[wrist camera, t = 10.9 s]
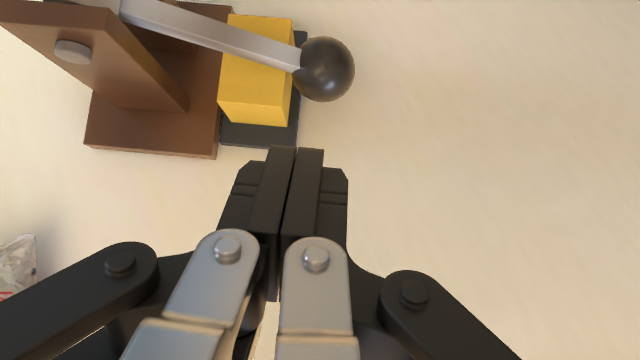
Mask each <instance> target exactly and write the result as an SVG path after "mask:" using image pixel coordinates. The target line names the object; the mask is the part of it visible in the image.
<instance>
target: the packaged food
mask: <svg viewBox="0 0 640 360" xmlns="http://www.w3.org/2000/svg"><path fill="white" fill-rule="evenodd" d="M5 249H6V250H5ZM35 253H36V251H35V235H34V234H30V233H27V234H23V235H21V236H19V237H18V238H16V239H14V240H13V241H12V242H10V243H9V244H6V245H4V246H1V247H0V302H1V301H3V300H5V299H7V298H9V297H11V296H13V295H14V294H16V293H18V292H20V291H22V290H24V289H26V288H28V287H30V286H32V285H34V284H36V283H38V280H37V268H36V260H35Z"/></svg>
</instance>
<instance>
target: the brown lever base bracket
mask: <svg viewBox="0 0 640 360" xmlns="http://www.w3.org/2000/svg"><path fill="white" fill-rule="evenodd" d="M158 1H161V2H164V3H167V4H170V5H173V6H176V7H179V8H182V9H185V10H188V11H190V12H193V13H196V14H199V15H202V16H205V17H208V18H211V19H214V20H217V21H220V22H223V23H226V24H227V21H228V15H229V14H234V11H233V9H232V6H226V5H214V4H203V3H192V2H180V1H176V0H158ZM0 26H2V27H3V28H5V29H6V30H8V31H9V32H10V33H12V34H13V35H15V36H16V37H18V38H19V39H21V40H22V41H23V42H25V43H26V44H28V45H29V46H31V47H32V48H33V49H35V50H36V51H38V52H39V53H41V54H42V55H44V56H45V57H46V58H48V59H49V60H51V61H52V62H54V63H55V64H57V65H58V66H59V67H61V68H62V69H64V70H65V71H67V72H68V73H70V74H71V75H72V76H74V77H75V78H77V79H78V80H80V81H81V82H83V83H84V84H85V85H87V86H88V87H90V88H91V89H93V93H92V98H91V104H90V109H89V115H88V120H87V126H86V131H85V137H84V142H83V144H85V145H87V146H89V147H92V148H96V149H107V150H118V151H128V152H139V153H150V154H160V155H171V156H182V157H192V158H203V159H214V160H215V159H216V153H217V146H218V139H219V131H220V124H221V116H222V108H221V107H220V105H219V104H218V103H217V94H218V87H219V80H220V72H221V65H222V58H223V52H221V51H218V50H214V49H211V48H208V47H205V46H201V45H198V44H195V43H191V42H188V41H185V40H182V39H178V38H175V37H172V36H169V35H165V34H162V33H159V32H155V31H152V30H149V29H146V28H142V27H139V26H136V25H133V24H129V23H126V22H123V21H121V20H120V19H119V18H118V17H117V16H116V15H115V14H114V12H113V11H112V10H111V9H110V8H108V7H96V6H85V5H74V4H62V3H51V2H40V1H28V0H0Z"/></svg>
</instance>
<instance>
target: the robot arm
mask: <svg viewBox="0 0 640 360" xmlns="http://www.w3.org/2000/svg"><path fill="white" fill-rule="evenodd" d="M323 158H324V149H315V148H304V147H299V148H298V152H297V147H293V146H282V145H272V144H271V145H270V148H269V151H268V155H267V158H266V161H265V162H264V161H254V160H250V161H249V162H248V163H247V164H246V165H244V166H243V167H242V168H241V169H240V170H239V171H238V174H237V177H236V179H235V182H234V185H233V187H232V190H231V192H230V195H229V197H228V200H227V202H226V205H225V208H224V210H223V213H222V215H221V218H220V221H219V223H218V226H217V228H216V231H215V232H212V233H210V234H208V235H207V236H205V237H204V238H203V239H202V240H201V241H200V242H199V244H198V245H197V247H196V249H195V250H194V251H191V252H188V253H184V254H179V255H172V256H166V257H159V258H157V256H156V253H155V251H154V250H153V249H152V248H151V247H149V246H148V245H146V244H143V243H140V242H121V243H117V244H114V245H111V246H109V247H106V248H104V249H102V250H100V251H98V252H96V253H94V254H92V255H91V256H89V257H87V258H85V259H83V260H81V261H79V262H77V263H75V264H73V265H71V266H69V267H67V268H65V269H63V270H61V271H59V272H57V273H55V274H53V275H52V276H50V277H48V278H46V279H44V280H42V281H40V282H38V283H36V284H34V285H32V286H30V287H28V288H26V289H24V290H22V291H20V292H18V293H16V294H14V295H13V296H11V297H9V298H7V299H5V300H3V301H1V302H0V360H50V359H51V358H53V357H55V356H56V355H58V354H59V353H61V352H63V351H64V350H66V349H67V348H69V347H71V346H72V345H74V344H75V343H77V342H79V341H80V340H82V339H83V338H85V337H87V336H88V335H90V334H91V333H93V332H95V331H96V330H98V329H99V328H101V327H103V326H104V327H103V328H101V329H100V330H98V331H97V332H95V333H93V334H92V335H90V336H89V337H87V338H85V339H84V340H82V341H81V342H79V343H78V344H76V345H74V346H73V347H71V348H70V349H68V350H66V351H65V352H63V353H62V354H60V355H58V356H57V357H55V358H54V359H52V360H252V358H253V354H254V351H255V348H256V344H257V341H258V338H259V334H260V331H261V321H262V318H263V315H264V310H265V305H266V301H270V302H277V296H278V291H279V302H281V303H280V315H279V327H278V333H277V337H276V346H275V358H274V360H522V359H521V358H520V357H518V356H517V355H516V354H515V353H514V352H513V351H512V350H511V349H510V348H509V347H508V346H506V345H505V344H504V343H503V342H502V341H501V340H500V339H499V338H498V337H497V336H496V335H494V334H493V333H492V332H491V331H490V330H489V329H488V328H487V327H486V326H485V325H484V324H483V323H481V322H480V321H479V320H478V319H477V318H476V317H475V316H474V315H473V314H472V313H471V312H469V311H468V310H467V309H466V308H465V307H464V306H463V305H462V304H461V303H460V302H459V301H458V300H456V299H455V298H454V297H453V296H452V295H451V294H450V293H449V292H448V291H447V290H446V289H444V288H443V287H442V286H441V285H440V284H439V283H438V282H437V281H436V280H434V279H433V278H431V277H430V276H428V275H426V274H424V273H421V272H418V271H412V270H401V271H396V272H394V273H391V274H390V275H388V276H387V277H386V278H382V277H380V276H377V275H374V274H372V273H369V272H367V271H365V270H363V269H362V268H360V267H359V266H358V265H356V264H355V263H354V262H353V261H352V259H351V258H350V256H349V254H348V252H347V249H346V233H347V202H348V179H347V178H346V176H345V174H344V173H343V171H342V169H338V168H328V167H323Z"/></svg>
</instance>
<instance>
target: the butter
mask: <svg viewBox="0 0 640 360" xmlns="http://www.w3.org/2000/svg"><path fill="white" fill-rule="evenodd" d="M227 24H229V25H232V26H235V27H238V28H241V29H244V30H246V31H249V32H252V33H255V34H258V35H261V36H264V37H267V38H270V39H273V40H276V41H279V42H282V43H285V44H288V45H291V46H294V47H297V48H299V47H300V46H301V45H302V44H303V43H305V42H306V41H307V32H304V31H293V26H292V20H291V19H283V18H272V17H260V16H249V15H238V14H229V15H228V21H227ZM300 100H301V93H300V92H299V90H298V89H297V88H296V86H295V84H294V82H293V79H292V75H291V73H289V72H286V71H283V70H280V69H276V68H273V67H270V66H267V65H263V64H260V63H257V62H254V61H250V60H247V59H244V58H240V57H237V56H234V55H231V54H227V53H224V52H223V58H222V65H221V72H220V80H219V87H218V94H217V103H218V104H219V105H220V107H221V108H222V110H223V118H222V125H221V133H220V140H219V143H220V144H221V145H229V146H240V147H251V148H261V149H269V148H270V145H271V144H272V145H282V146H293V147H296V137H297V128H298V118H299V109H300Z"/></svg>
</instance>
